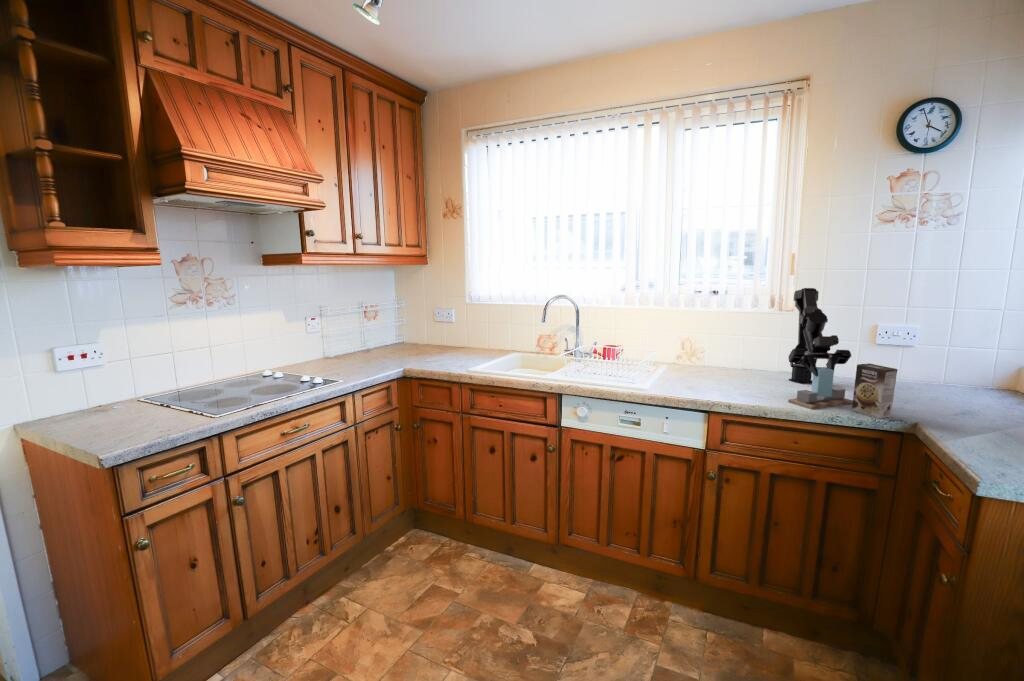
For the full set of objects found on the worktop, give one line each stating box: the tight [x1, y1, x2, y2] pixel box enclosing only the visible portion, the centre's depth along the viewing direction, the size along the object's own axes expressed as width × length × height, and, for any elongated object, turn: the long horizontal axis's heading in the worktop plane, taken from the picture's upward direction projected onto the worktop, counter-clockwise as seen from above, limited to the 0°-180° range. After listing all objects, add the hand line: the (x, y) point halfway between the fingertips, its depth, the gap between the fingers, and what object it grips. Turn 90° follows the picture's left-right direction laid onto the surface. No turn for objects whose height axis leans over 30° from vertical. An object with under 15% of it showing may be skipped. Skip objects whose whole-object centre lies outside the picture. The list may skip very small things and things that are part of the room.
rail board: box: [787, 396, 853, 410], centre depth 172 cm, size 20×9×1 cm, turn 109°
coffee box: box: [851, 363, 898, 419], centre depth 158 cm, size 9×6×16 cm
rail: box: [797, 396, 845, 404], centre depth 172 cm, size 18×4×1 cm, turn 109°
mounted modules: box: [796, 385, 846, 402], centre depth 172 cm, size 18×4×3 cm, turn 109°
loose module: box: [811, 366, 835, 397], centre depth 171 cm, size 4×5×10 cm
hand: (824, 376), depth 169 cm, fingers closed on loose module, 4 cm apart
